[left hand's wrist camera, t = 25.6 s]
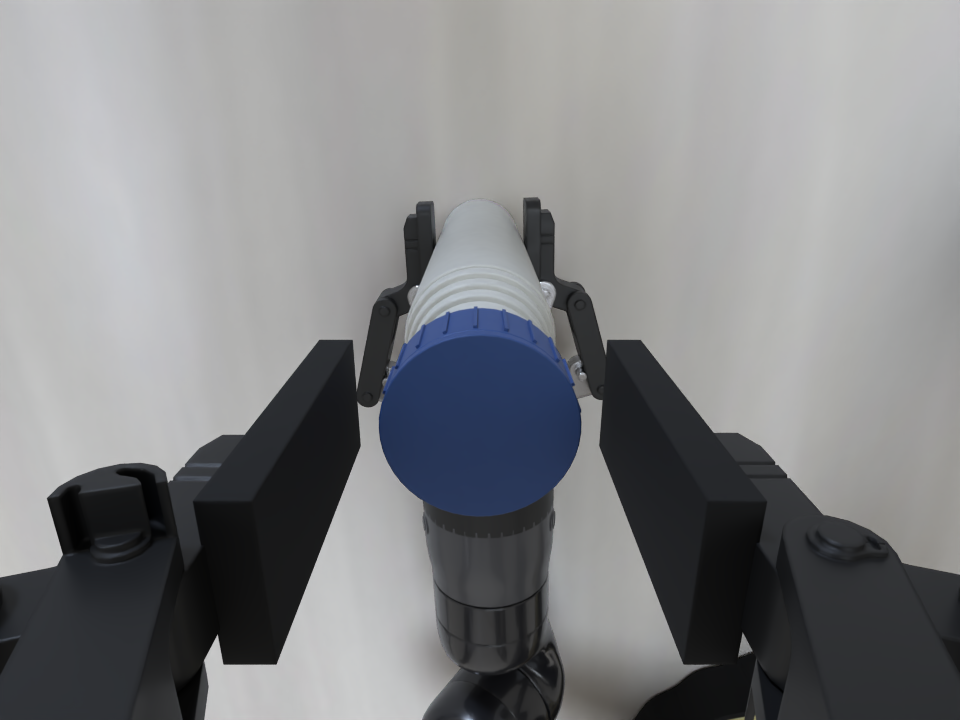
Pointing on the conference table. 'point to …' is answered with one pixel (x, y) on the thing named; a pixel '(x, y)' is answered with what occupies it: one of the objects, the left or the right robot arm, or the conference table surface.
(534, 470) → the cap
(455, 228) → the bottle
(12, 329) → the conference table surface
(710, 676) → the sign
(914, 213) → the conference table surface
